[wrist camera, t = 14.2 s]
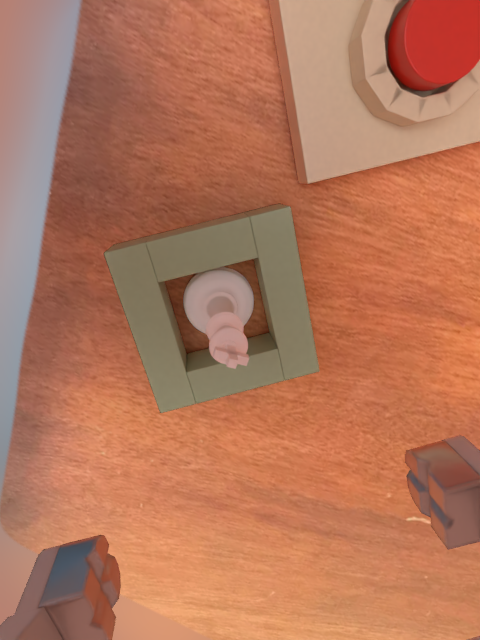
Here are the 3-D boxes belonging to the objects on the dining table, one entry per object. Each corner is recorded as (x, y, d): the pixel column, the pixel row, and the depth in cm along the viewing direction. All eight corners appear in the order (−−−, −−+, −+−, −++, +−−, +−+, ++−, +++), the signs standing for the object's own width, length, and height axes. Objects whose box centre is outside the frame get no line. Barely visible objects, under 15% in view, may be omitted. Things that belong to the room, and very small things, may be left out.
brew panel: (298, 183, 26) (316, 184, 22) (264, -23, 22) (279, -65, 18) (503, 133, 26) (555, 125, 22) (505, -79, 22) (569, -131, 18)
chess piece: (241, 341, 29) (264, 418, 19) (175, 324, 28) (166, 397, 18) (262, 277, 27) (299, 328, 18) (194, 257, 26) (195, 300, 17)
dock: (163, 391, 29) (160, 413, 27) (112, 244, 26) (103, 252, 23) (307, 353, 30) (319, 371, 27) (280, 203, 26) (290, 206, 23)
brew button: (390, 99, 21) (407, 93, 20) (383, 2, 20) (400, -15, 18) (468, 81, 21) (492, 72, 20) (467, -18, 20) (492, -36, 18)
